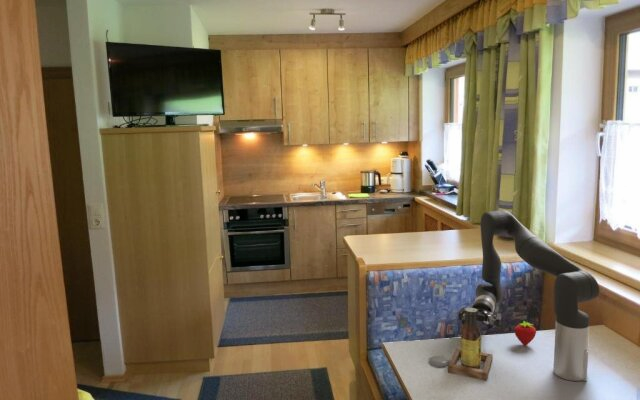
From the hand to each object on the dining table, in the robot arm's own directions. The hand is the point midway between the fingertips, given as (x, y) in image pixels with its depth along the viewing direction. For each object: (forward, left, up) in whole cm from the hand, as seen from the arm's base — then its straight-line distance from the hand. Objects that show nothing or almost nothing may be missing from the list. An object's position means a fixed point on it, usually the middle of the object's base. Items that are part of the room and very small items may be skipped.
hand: (476, 324), depth 163 cm
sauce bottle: (0, +11, -10) cm, 15 cm away
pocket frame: (0, +11, -10) cm, 15 cm away
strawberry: (-15, -12, -10) cm, 22 cm away
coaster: (+10, +12, -10) cm, 19 cm away
